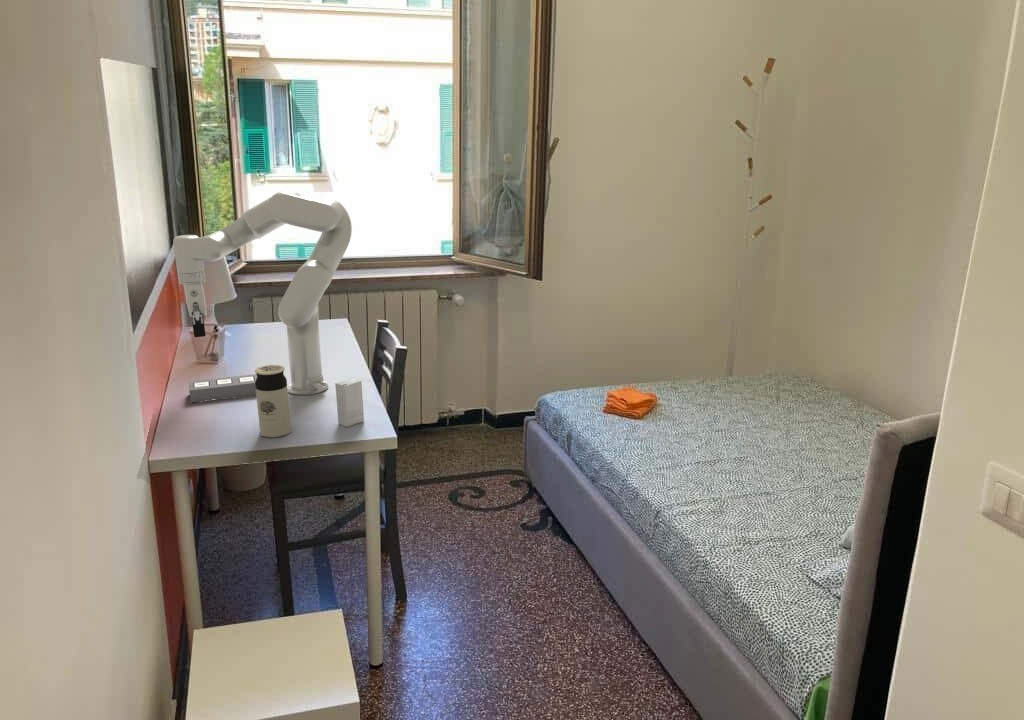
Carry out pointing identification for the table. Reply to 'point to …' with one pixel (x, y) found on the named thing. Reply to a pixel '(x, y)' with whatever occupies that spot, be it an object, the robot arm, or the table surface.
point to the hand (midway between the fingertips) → (199, 332)
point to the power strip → (222, 389)
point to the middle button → (224, 381)
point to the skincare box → (349, 402)
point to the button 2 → (246, 379)
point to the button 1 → (201, 384)
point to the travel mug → (272, 401)
